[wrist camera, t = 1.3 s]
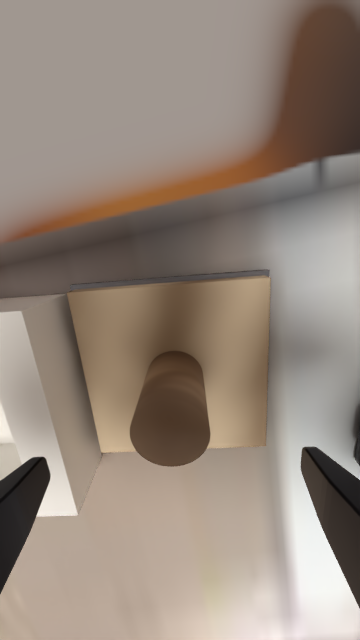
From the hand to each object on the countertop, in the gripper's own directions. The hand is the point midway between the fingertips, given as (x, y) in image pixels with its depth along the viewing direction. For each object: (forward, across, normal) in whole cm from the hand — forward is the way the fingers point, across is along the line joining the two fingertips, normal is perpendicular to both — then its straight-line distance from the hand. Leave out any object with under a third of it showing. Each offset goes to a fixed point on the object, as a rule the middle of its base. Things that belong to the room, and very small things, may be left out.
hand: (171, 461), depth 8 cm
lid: (+7, 0, 0) cm, 7 cm away
